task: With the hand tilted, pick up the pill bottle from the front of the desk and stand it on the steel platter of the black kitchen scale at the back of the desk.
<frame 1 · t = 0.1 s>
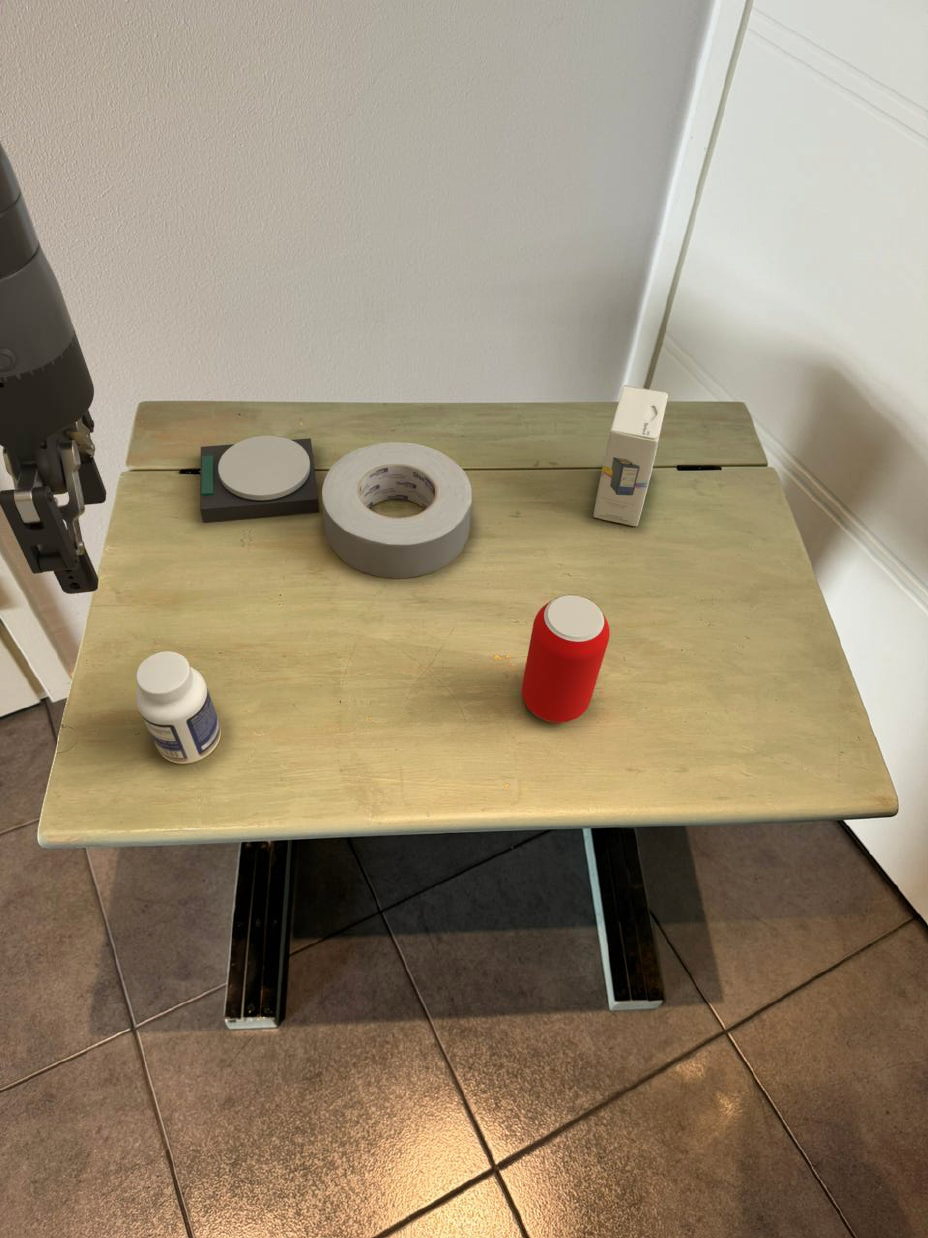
hand: (87, 543, 58), 20 cm above the table, tool pointing down, fingers open, 8 cm apart
pill bottle: (189, 738, 71), on the table
ink box: (619, 499, 93), on the table
tape roll: (397, 526, 88), on the table
scale: (260, 485, 91), on the table
beverage can: (554, 701, 75), on the table
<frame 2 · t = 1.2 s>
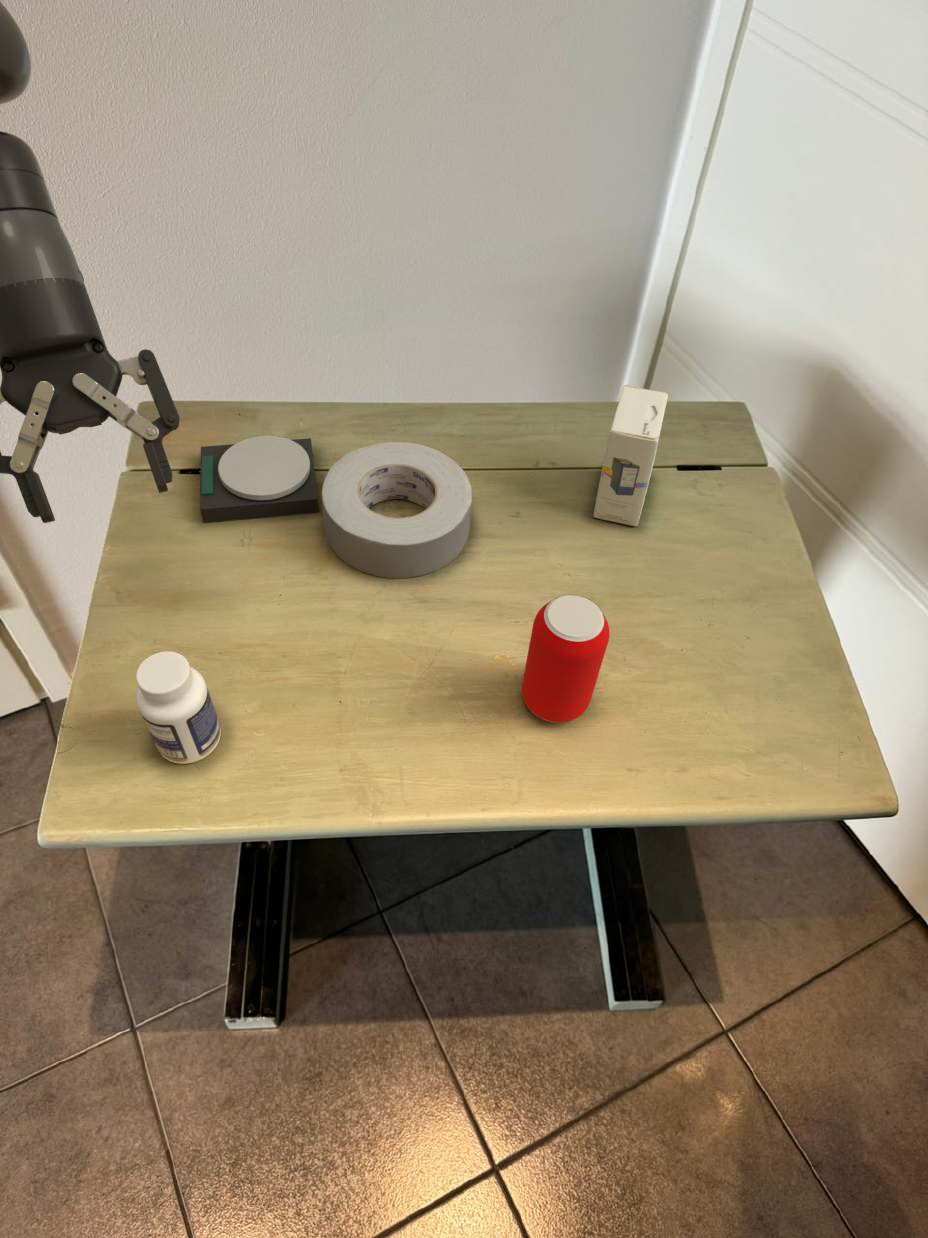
hand: (107, 506, 64), 17 cm above the table, tool tilted 45°, fingers open, 8 cm apart
nothing on the table moved.
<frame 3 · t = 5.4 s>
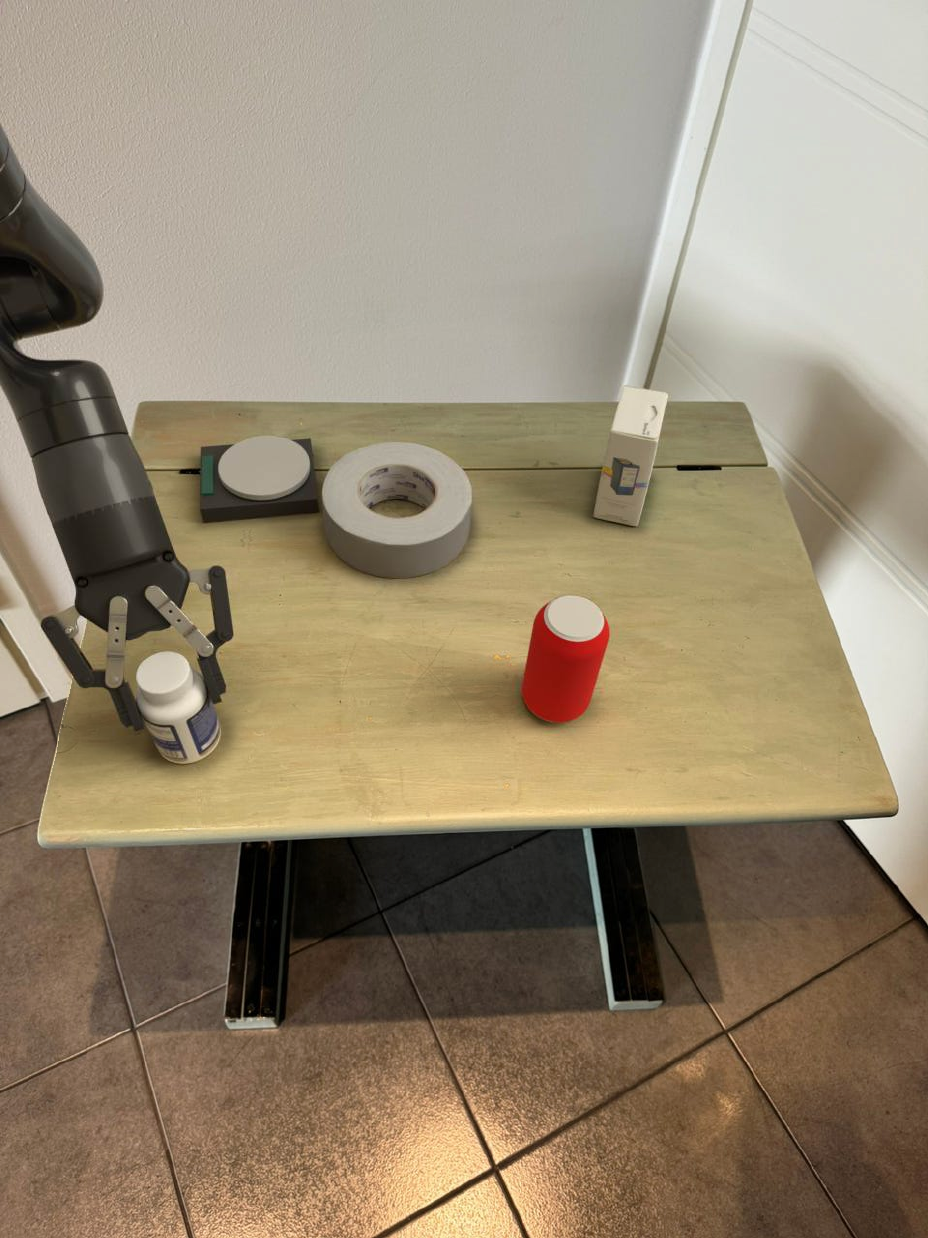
hand: (179, 714, 65), 6 cm above the table, tool tilted 45°, fingers closed on pill bottle, 5 cm apart
pill bottle: (189, 738, 71), on the table, touching gripper
everything else where it was.
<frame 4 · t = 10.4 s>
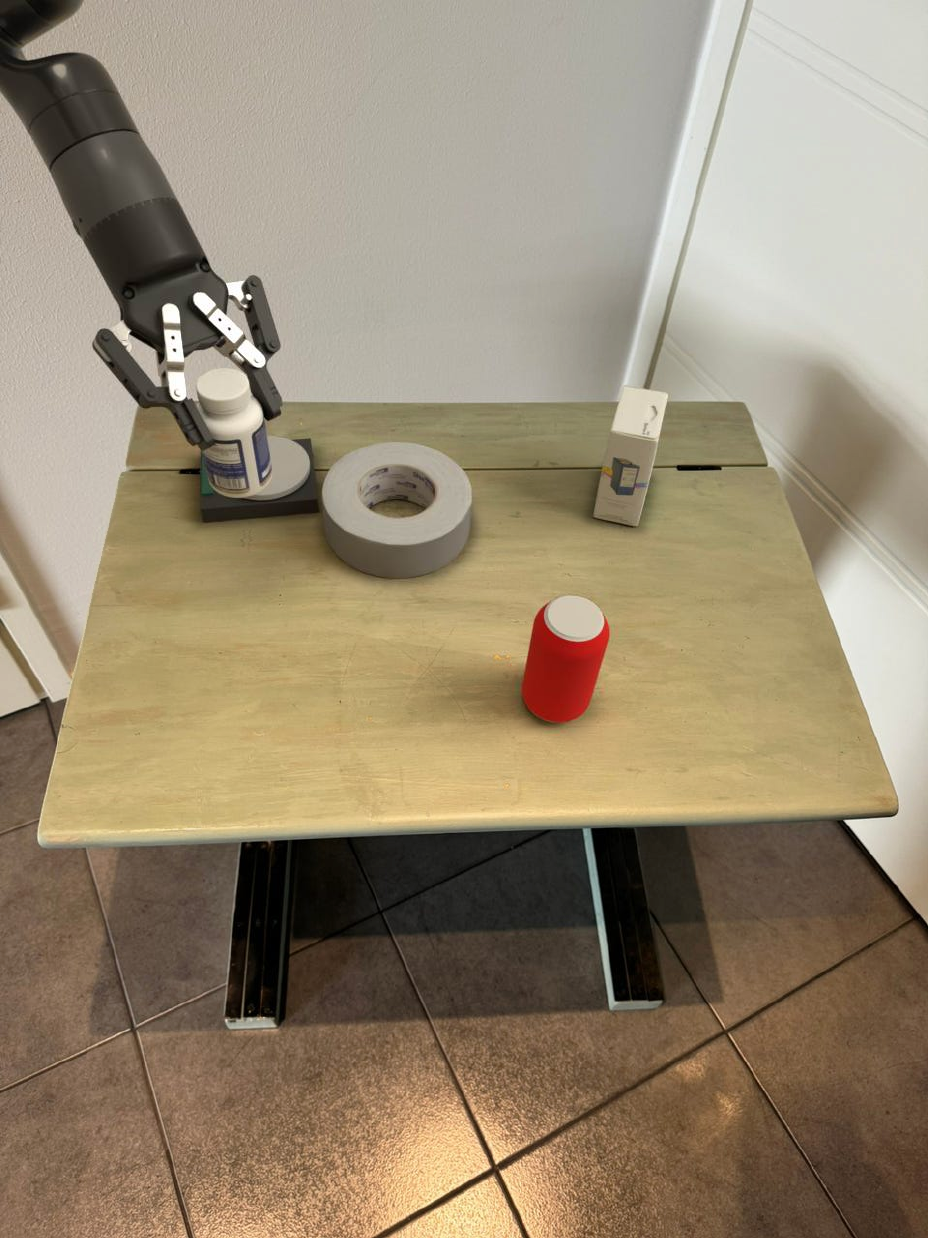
hand: (242, 431, 66), 20 cm above the table, tool tilted 45°, fingers closed on pill bottle, 5 cm apart
pill bottle: (240, 479, 71), point 14 cm above the table, touching gripper
everything else where it was.
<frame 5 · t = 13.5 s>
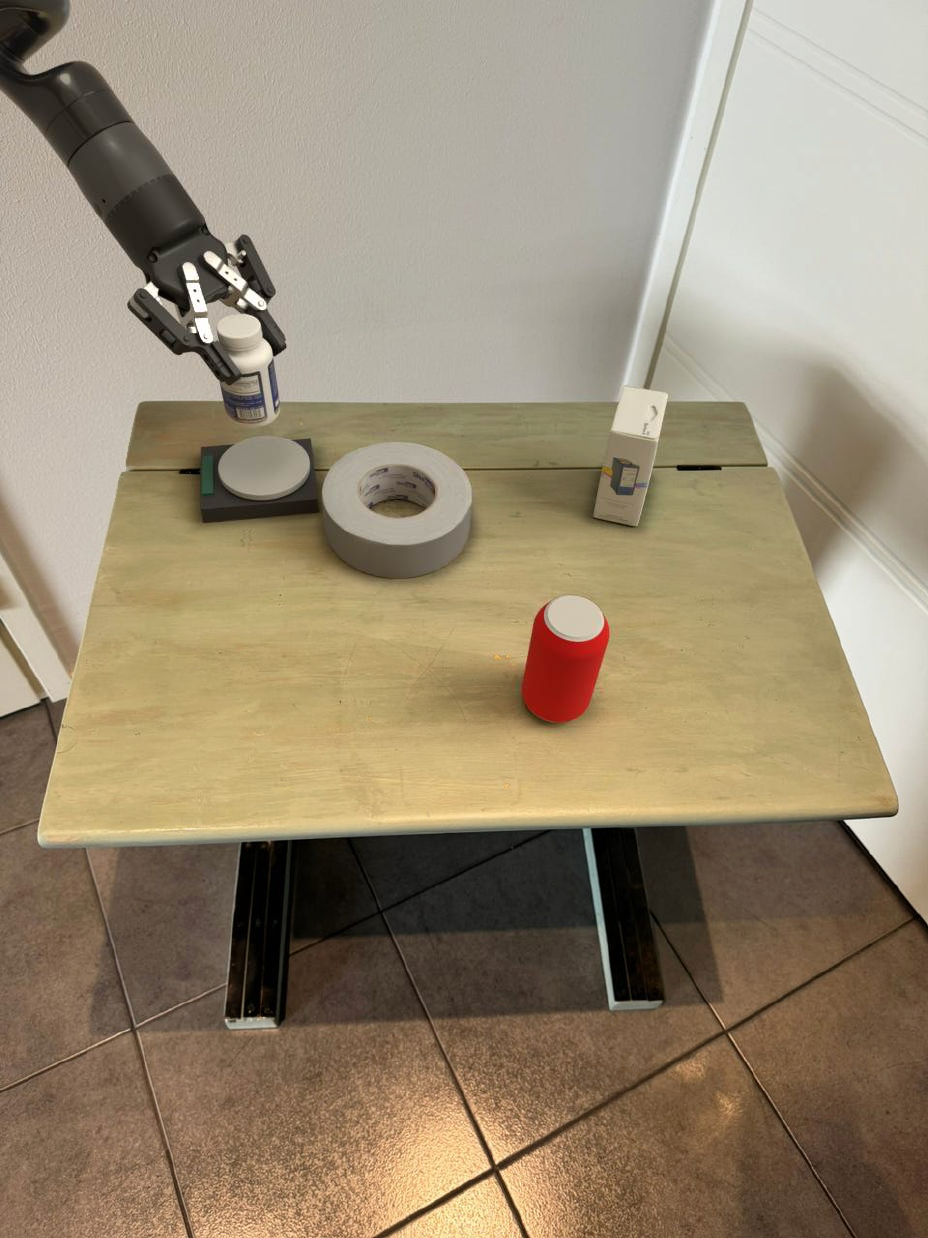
hand: (258, 365, 78), 16 cm above the table, tool tilted 45°, fingers closed on pill bottle, 5 cm apart
pill bottle: (253, 413, 84), point 9 cm above the table, touching gripper
everything else where it was.
when the fingers open (9 cm above the table, at t = 15.8 s): pill bottle stays where it is, resting on scale.
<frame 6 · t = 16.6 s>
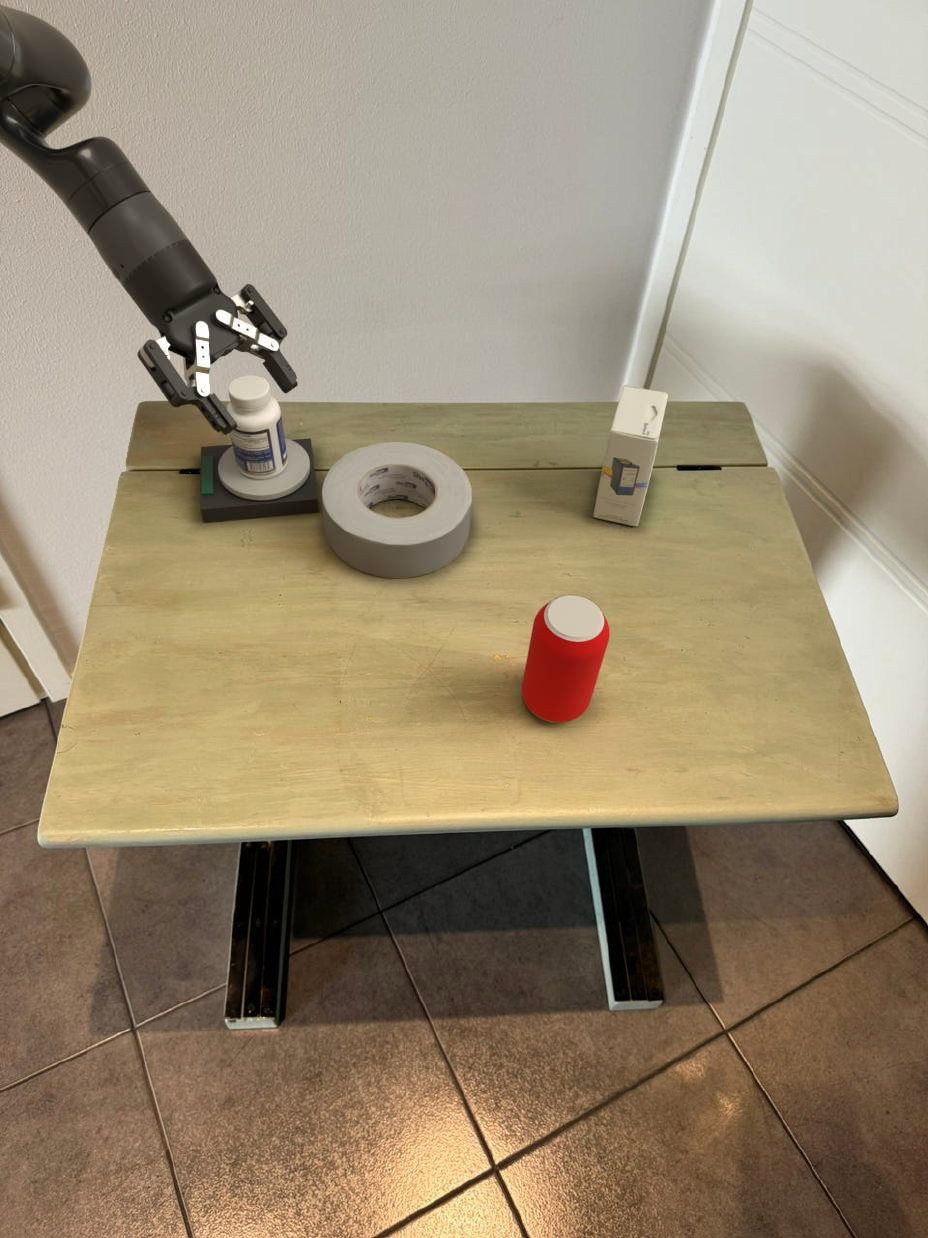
hand: (262, 409, 82), 11 cm above the table, tool tilted 45°, fingers open, 8 cm apart
pill bottle: (262, 465, 89), point 3 cm above the table, touching scale
everything else where it was.
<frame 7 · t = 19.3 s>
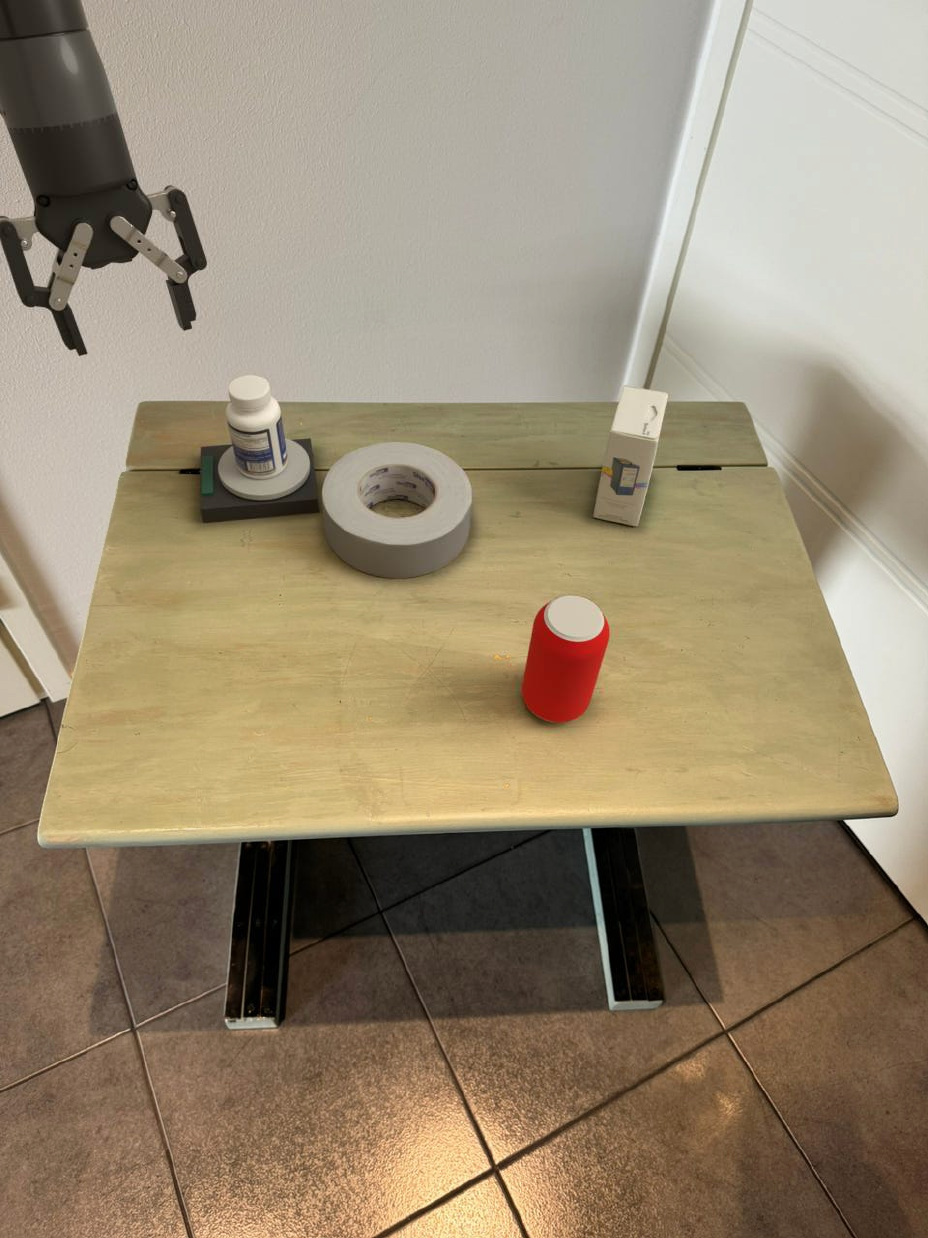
hand: (135, 339, 69), 22 cm above the table, tool pointing down, fingers open, 8 cm apart
nothing on the table moved.
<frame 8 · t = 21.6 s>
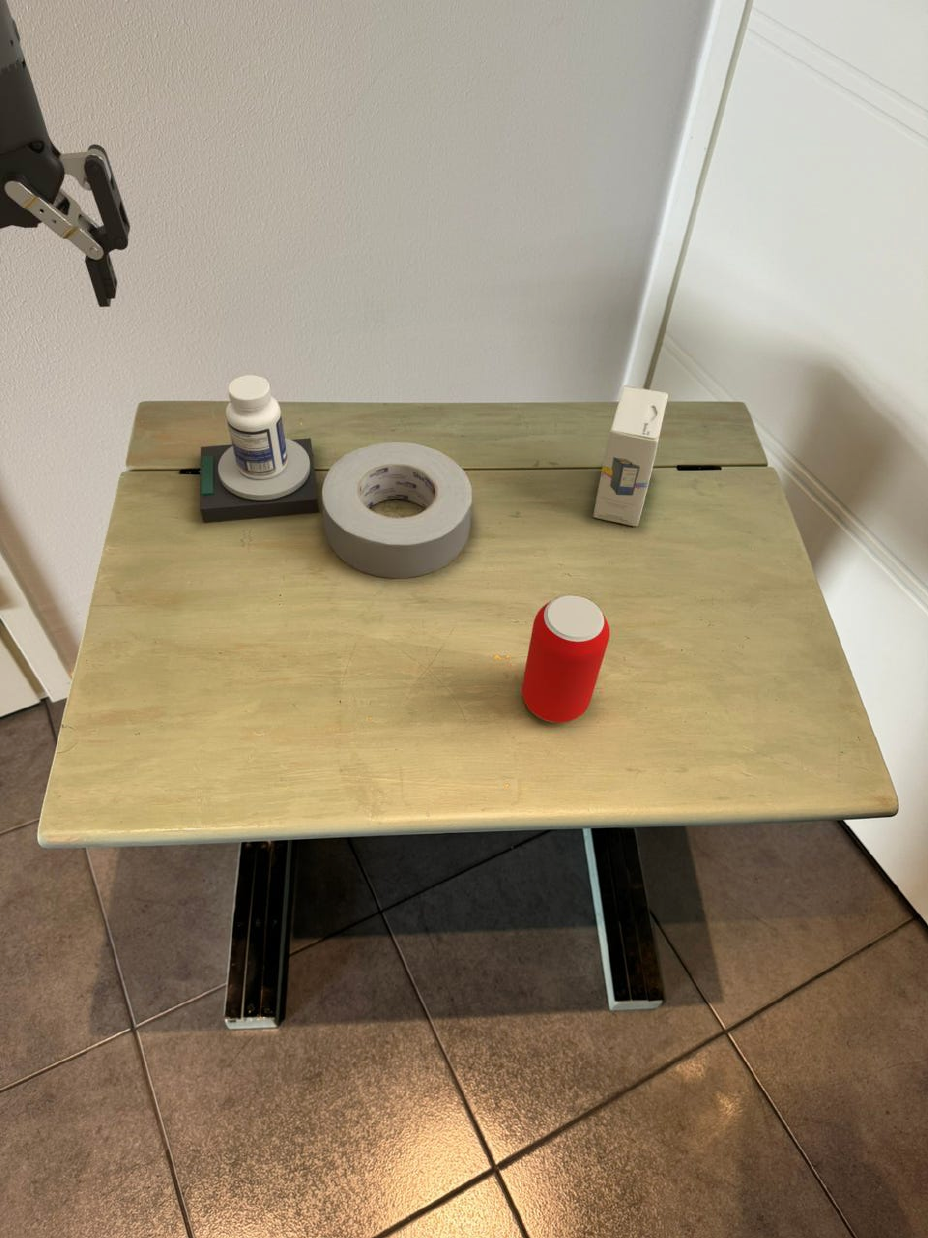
hand: (45, 304, 61), 28 cm above the table, tool pointing down, fingers open, 8 cm apart
nothing on the table moved.
at the end: pill bottle inside the target area on the scale (0.2 cm from its centre), point 2.8 cm above the scale's base; pill bottle tilted 0°; the gripper is holding nothing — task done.
